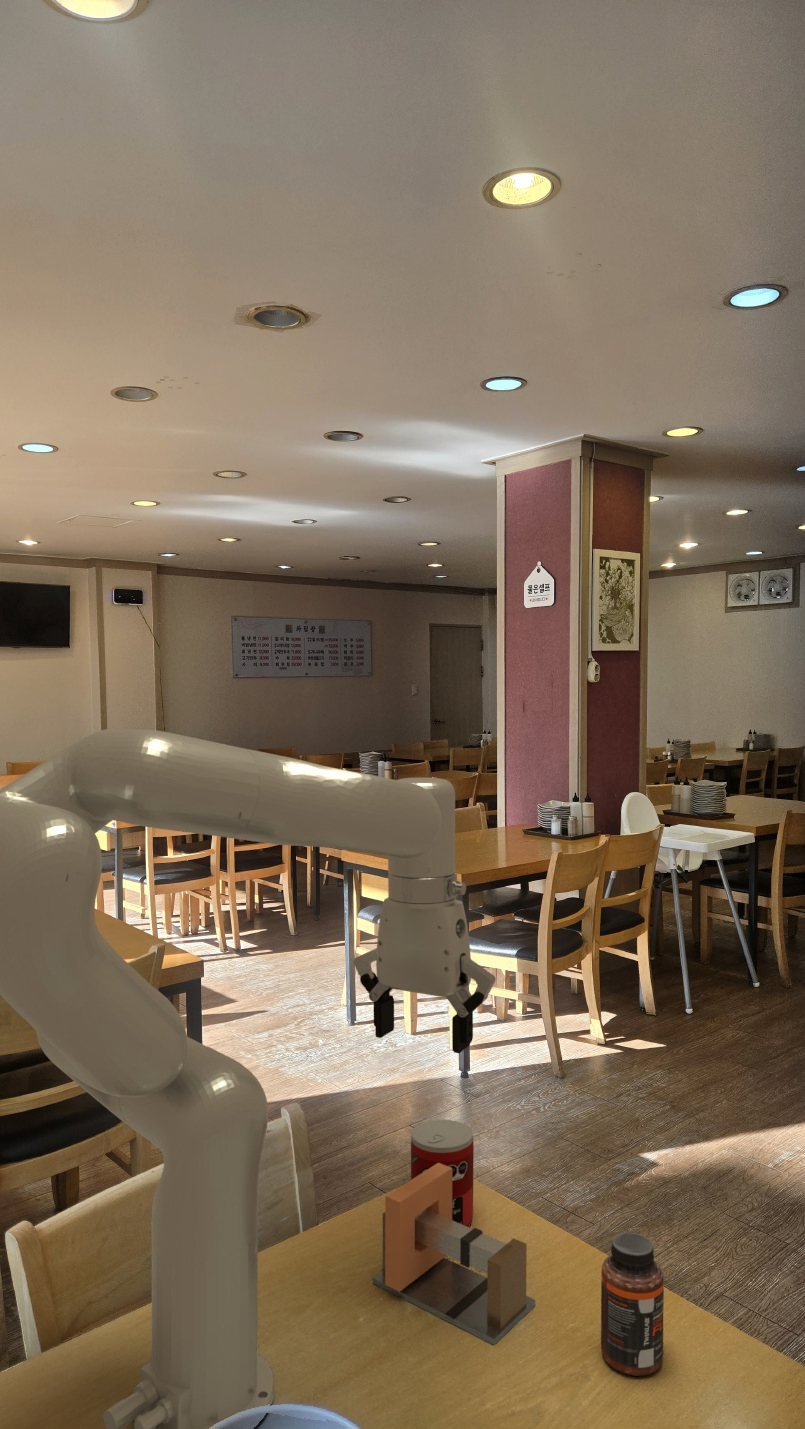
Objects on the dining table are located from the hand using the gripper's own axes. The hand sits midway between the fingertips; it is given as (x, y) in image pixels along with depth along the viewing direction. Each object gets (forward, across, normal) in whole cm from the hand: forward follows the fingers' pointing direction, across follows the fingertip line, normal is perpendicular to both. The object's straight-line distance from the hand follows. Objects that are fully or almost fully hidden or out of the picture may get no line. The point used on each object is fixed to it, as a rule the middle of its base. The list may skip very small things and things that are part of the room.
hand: (422, 1041), depth 104 cm
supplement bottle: (+27, -24, +2) cm, 36 cm away
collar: (+25, 0, +1) cm, 25 cm away
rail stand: (+26, -4, +1) cm, 27 cm away
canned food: (+27, +3, -11) cm, 29 cm away
